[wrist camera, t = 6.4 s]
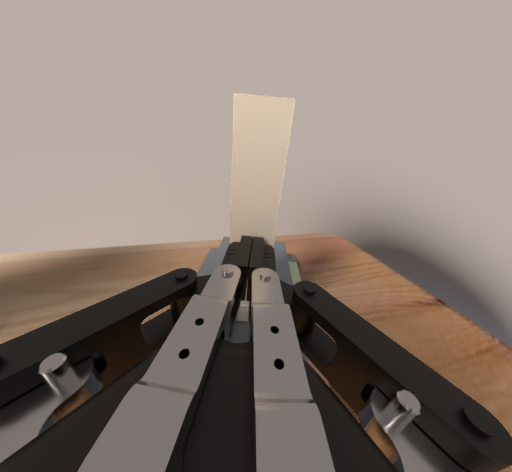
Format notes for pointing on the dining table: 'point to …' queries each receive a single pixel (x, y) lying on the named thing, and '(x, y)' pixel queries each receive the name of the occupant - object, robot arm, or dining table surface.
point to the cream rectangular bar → (258, 167)
